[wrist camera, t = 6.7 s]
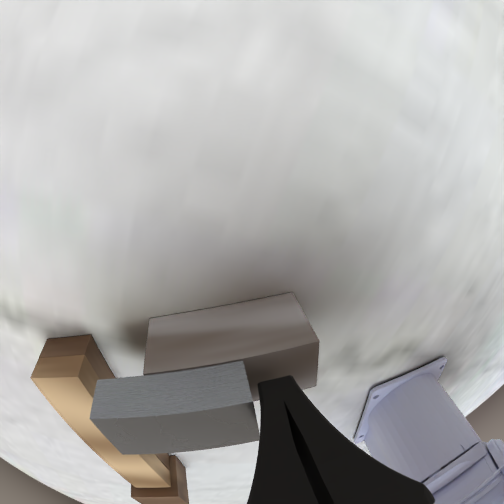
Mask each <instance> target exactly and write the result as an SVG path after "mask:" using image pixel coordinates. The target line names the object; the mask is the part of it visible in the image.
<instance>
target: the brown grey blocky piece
mask: <svg viewBox="0 0 504 504" xmlns="http://www.w3.org/2000/svg"><path fill="white" fill-rule="evenodd" d="M318 354H319V339H318V338H317V336H316V334H315V332H314V330H313V328H312V327H311V325H310V323H309V321H308V319H307V317H306V316H305V314H304V312H303V310H302V308H301V306H300V305H299V303H298V301H297V299H296V297H295V295H294V294H293V292H290V293H286V294H281V295H276V296H271V297H266V298H261V299H256V300H251V301H246V302H241V303H236V304H231V305H225V306H220V307H214V308H209V309H203V310H197V311H192V312H186V313H180V314H174V315H168V316H161V317H155V318H150V320H149V327H148V335H147V343H146V352H145V361H144V370H143V374H144V376H145V375H154V374H162V373H170V372H177V371H184V370H191V369H197V368H203V367H210V366H215V365H221V364H227V363H232V362H237V361H242V360H243V363H244V367H245V371H246V375H247V379H248V383H249V387H250V391H251V395H252V399H253V401H258V400H260V399H259V393H258V386H257V384H258V383H259V382H262V381H267V380H271V379H276V378H280V377H284V376H288V375H291V376H293V378H294V379H295V381H296V382H297V384H298V385H299V387H300V388H301V390H303V389H307V388H311V387H314V386H316V383H317V370H318ZM75 355H85V356H86V357H87V359H88V361H89V363H90V364H91V366H92V368H93V369H94V371H95V373H96V374H97V376H98V377H99V379H113V378H115V377H114V375H113V374H112V372H111V370H110V368H109V367H108V365H107V363H106V361H105V360H104V358H103V356H102V354H101V352H100V351H99V349H98V347H97V345H96V343H95V341H94V339H93V338H92V336H91V335H82V336H73V337H64V338H54V339H47V341H46V343H45V345H44V347H43V349H42V352H41V354H40V356H39V358H45V357H61V356H75ZM155 455H156V456H157V458H158V459H159V460H160V461H161V462H162V463H163V465H164V466H165V467H166V468H167V469H168V470H169V471H170V481H171V487H160V488H136V487H134V486H133V485H132V484H131V497H132V498H134V499H135V500H137V501H138V502H140V503H141V504H189V499H188V490H187V480H186V469H185V467H184V466H183V465H182V463H181V462H180V461H179V459H178V458H177V457H176V456H169V454H168V453H161V454H155Z"/></svg>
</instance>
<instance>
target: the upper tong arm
mask: <svg viewBox="0 0 504 504" xmlns="http://www.w3.org/2000/svg"><path fill="white" fill-rule="evenodd" d="M31 379H32V381H33V382H34V383H35V385H36V386H37V387H38V389H39V390H40V391H41V393H42V394H43V395H44V396H45V398H46V399H47V400H48V401H49V403H50V404H51V405H52V406H53V408H54V409H55V410H56V411H57V412H58V413H59V415H60V416H61V417H62V418H63V419H64V420H65V421H66V423H67V424H68V425H69V426H70V427H71V428H72V429H73V430H74V431H75V432H76V433H77V435H78V436H79V437H80V438H81V439H82V440H83V441H84V442H85V443H86V444H87V445H88V446H89V447H90V448H91V449H92V450H93V451H94V452H95V453H96V454H97V455H99V456H100V457H101V458H102V459H103V460H104V461H105V462H106V463H107V464H108V465H109V466H111V467H112V468H113V469H114V470H115V471H116V472H117V473H119V474H120V475H121V476H122V477H123V478H124V479H126V480H127V481H128V482H129V483H131V484H132V485H133V486H134V487H136V488H160V487H171V481H170V471H169V470H168V469H167V468H166V467H165V466H164V465H163V463H162V462H161V461H160V460H159V459H158V458H157V456H156V455H155V454H137V455H122V454H121V453H120V452H119V451H118V450H117V449H116V448H115V447H114V445H113V444H112V443H111V442H110V441H109V440H108V439H107V438H106V437H105V436H104V435H103V434H102V433H101V431H100V430H99V429H98V428H97V427H96V426H95V425H94V424H93V422H92V421H91V420H90V419H89V418H90V413H91V407H92V402H93V397H94V393H95V388H96V383H97V380H99V377H98V376H97V374H96V373H95V371H94V369H93V368H92V366H91V364H90V363H89V361H88V359H87V357H86V356H85V355H75V356H61V357H45V358H39V359H38V361H37V364H36V366H35V368H34V371H33V373H32V376H31Z"/></svg>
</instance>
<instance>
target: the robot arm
mask: <svg viewBox="0 0 504 504" xmlns="http://www.w3.org/2000/svg"><path fill="white" fill-rule="evenodd" d="M446 363H447V358H446V357H442V358H440V359H438V360H436V361H434V362H432V363H430V364H428V365H425V366H423V367H421V368H419V369H417V370H415V371H412V372H410V373H408V374H405V375H403V376H401V377H398V378H396V379H394V380H391V381H389V382H386V383H384V384H381V385H379V386H376V387H374V388H373V389H372V390H371V391H370V394H369V397H368V400H367V403H366V406H365V409H364V412H363V415H362V418H361V421H360V424H359V427H358V430H357V432H356V435H355V438H354V442H355V443H359V442H362V441H365V443H366V445H367V447H368V449H369V451H370V453H371V455H372V457H371V456H370V455H368V454H367V453H365V452H364V451H363V450H361V449H360V448H358V447H357V446H356V445H355V444H353V443H352V442H351V441H350V440H348V439H347V438H346V437H345V436H344V435H343V434H341V433H340V432H339V431H338V430H337V429H336V428H335V427H334V426H333V425H332V424H331V423H330V422H329V421H328V420H327V419H326V418H325V417H324V416H323V415H322V414H321V413H320V412H319V410H318V409H317V408H316V407H315V406H314V405H313V404H312V402H311V401H310V400H309V399H308V397H307V396H306V395H305V394H304V392H303V391H302V390H301V388H300V387H299V385H298V384H297V382H296V381H295V379H294V378H293V376H291V375H288V376H284V377H280V378H276V379H271V380H267V381H262V382H259V383H258V384H257V386H258V393H259V399H260V406H261V426H260V440H259V450H258V457H257V463H256V469H255V474H254V479H253V483H252V487H251V491H250V495H249V499H248V502H247V504H504V443H503V442H502V440H501V439H496V440H494V439H492V440H490V441H489V442H488V443H486V442H482V441H481V439H480V438H479V437H478V435H477V434H476V432H475V431H474V429H473V428H472V427H471V425H470V424H469V422H468V421H467V419H466V418H465V417H464V415H463V414H462V413H461V411H460V410H459V408H458V407H457V406H456V404H455V403H454V402H453V400H452V399H451V398H450V396H449V395H448V394H447V392H446V391H445V390H444V388H443V387H442V386H441V384H440V383H439V382H438V380H439V378H440V376H441V374H442V371H443V369H444V367H445V365H446Z"/></svg>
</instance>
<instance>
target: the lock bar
mask: <svg viewBox="0 0 504 504" xmlns="http://www.w3.org/2000/svg"><path fill="white" fill-rule="evenodd" d="M89 419H90V420H91V421H92V422H93V424H94V425H95V426H96V427H97V428H98V429H99V430H100V431H101V433H102V434H103V435H104V436H105V437H106V438H107V439H108V440H109V441H110V442H111V443H112V444H113V445H114V447H115V448H116V449H117V450H118V451H119V452H120V453H121V454H122V455H137V454H161V453H175V452H186V451H195V450H204V449H211V448H219V447H225V446H231V445H237V444H243V443H248V442H253V441H258V440H260V434H259V429H258V424H257V419H256V414H255V409H254V404H253V399H252V395H251V391H250V387H249V383H248V379H247V375H246V371H245V367H244V363H243V360H242V361H237V362H232V363H227V364H221V365H215V366H210V367H203V368H197V369H191V370H184V371H177V372H170V373H162V374H154V375H145V376H135V377H125V378H113V379H99V380H97V383H96V388H95V393H94V397H93V402H92V407H91V413H90V418H89Z"/></svg>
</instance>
